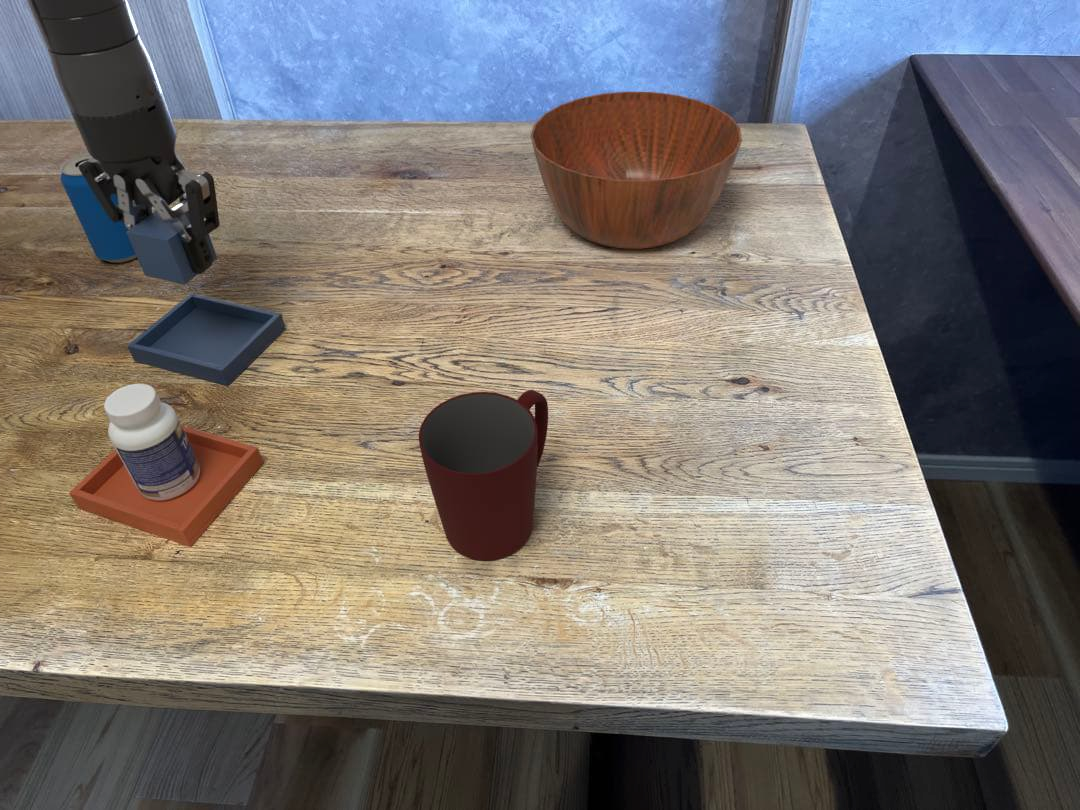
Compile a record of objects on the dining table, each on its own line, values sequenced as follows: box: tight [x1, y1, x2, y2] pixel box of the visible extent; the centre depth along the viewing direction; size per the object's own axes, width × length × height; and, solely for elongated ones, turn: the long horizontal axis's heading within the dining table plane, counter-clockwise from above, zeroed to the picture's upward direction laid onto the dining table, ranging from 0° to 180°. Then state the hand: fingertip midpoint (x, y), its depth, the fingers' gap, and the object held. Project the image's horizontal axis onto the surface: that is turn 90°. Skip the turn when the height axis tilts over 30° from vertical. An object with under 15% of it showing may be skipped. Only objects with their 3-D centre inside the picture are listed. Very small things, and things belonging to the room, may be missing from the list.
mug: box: [418, 389, 549, 561], centre depth 66 cm, size 12×9×11 cm
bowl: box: [530, 91, 743, 250], centre depth 101 cm, size 25×25×11 cm
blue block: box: [126, 210, 218, 286], centre depth 80 cm, size 5×5×5 cm
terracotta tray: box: [68, 424, 264, 548], centre depth 72 cm, size 12×10×2 cm
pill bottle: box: [103, 383, 200, 501], centre depth 69 cm, size 5×5×10 cm
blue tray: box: [126, 292, 287, 387], centre depth 87 cm, size 12×10×2 cm
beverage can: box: [59, 152, 138, 264], centre depth 99 cm, size 6×6×12 cm
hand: (180, 263), depth 81 cm, fingers closed on blue block, 5 cm apart
